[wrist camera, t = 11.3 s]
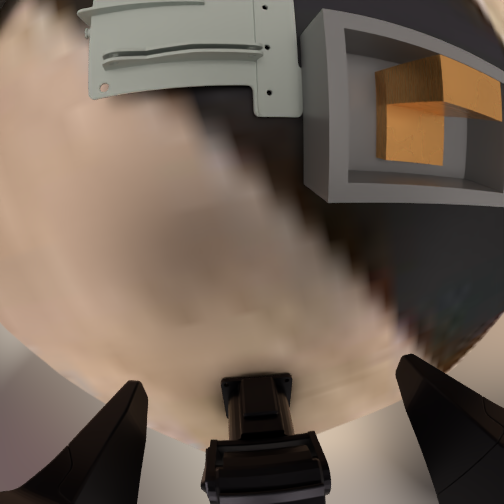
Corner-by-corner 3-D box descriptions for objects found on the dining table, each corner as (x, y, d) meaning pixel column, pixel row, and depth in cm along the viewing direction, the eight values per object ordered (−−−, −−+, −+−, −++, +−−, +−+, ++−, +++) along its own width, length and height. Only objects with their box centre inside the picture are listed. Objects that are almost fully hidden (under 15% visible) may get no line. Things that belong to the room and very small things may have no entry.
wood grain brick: (431, 162, 18) (498, 184, 11) (375, 157, 17) (441, 176, 11) (431, 85, 15) (499, 81, 9) (374, 72, 15) (440, 54, 8)
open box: (467, 190, 19) (507, 207, 14) (303, 184, 18) (328, 202, 14) (469, 77, 15) (511, 76, 10) (299, 36, 14) (322, 8, 10)
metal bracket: (68, 138, 11) (92, -77, 5) (89, 138, 16) (98, -36, 10) (332, 117, 15) (313, -67, 9) (287, 119, 20) (277, -36, 14)
